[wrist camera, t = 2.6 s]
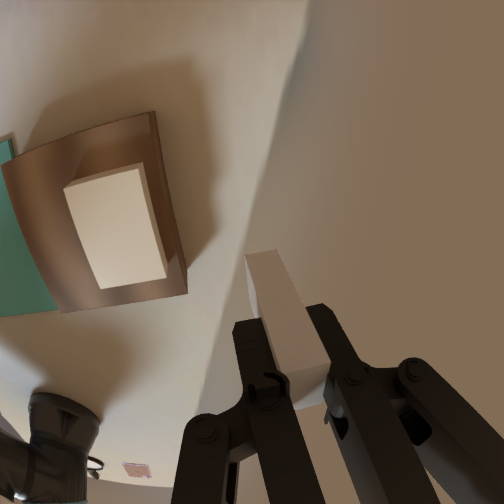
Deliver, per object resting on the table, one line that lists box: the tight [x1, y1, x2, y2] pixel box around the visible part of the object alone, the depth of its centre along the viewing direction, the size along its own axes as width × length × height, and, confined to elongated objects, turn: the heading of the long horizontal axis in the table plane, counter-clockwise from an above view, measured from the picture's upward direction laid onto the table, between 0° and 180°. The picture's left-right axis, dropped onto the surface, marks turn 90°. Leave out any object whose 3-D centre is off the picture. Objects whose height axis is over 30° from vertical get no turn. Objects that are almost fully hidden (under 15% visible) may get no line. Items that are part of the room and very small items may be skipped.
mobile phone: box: [122, 463, 152, 478], centre depth 60 cm, size 8×1×15 cm
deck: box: [0, 111, 188, 313], centre depth 23 cm, size 14×16×4 cm
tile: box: [63, 162, 168, 289], centre depth 21 cm, size 6×9×2 cm, turn 5°
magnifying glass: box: [87, 456, 103, 479], centre depth 57 cm, size 12×24×2 cm, turn 167°
